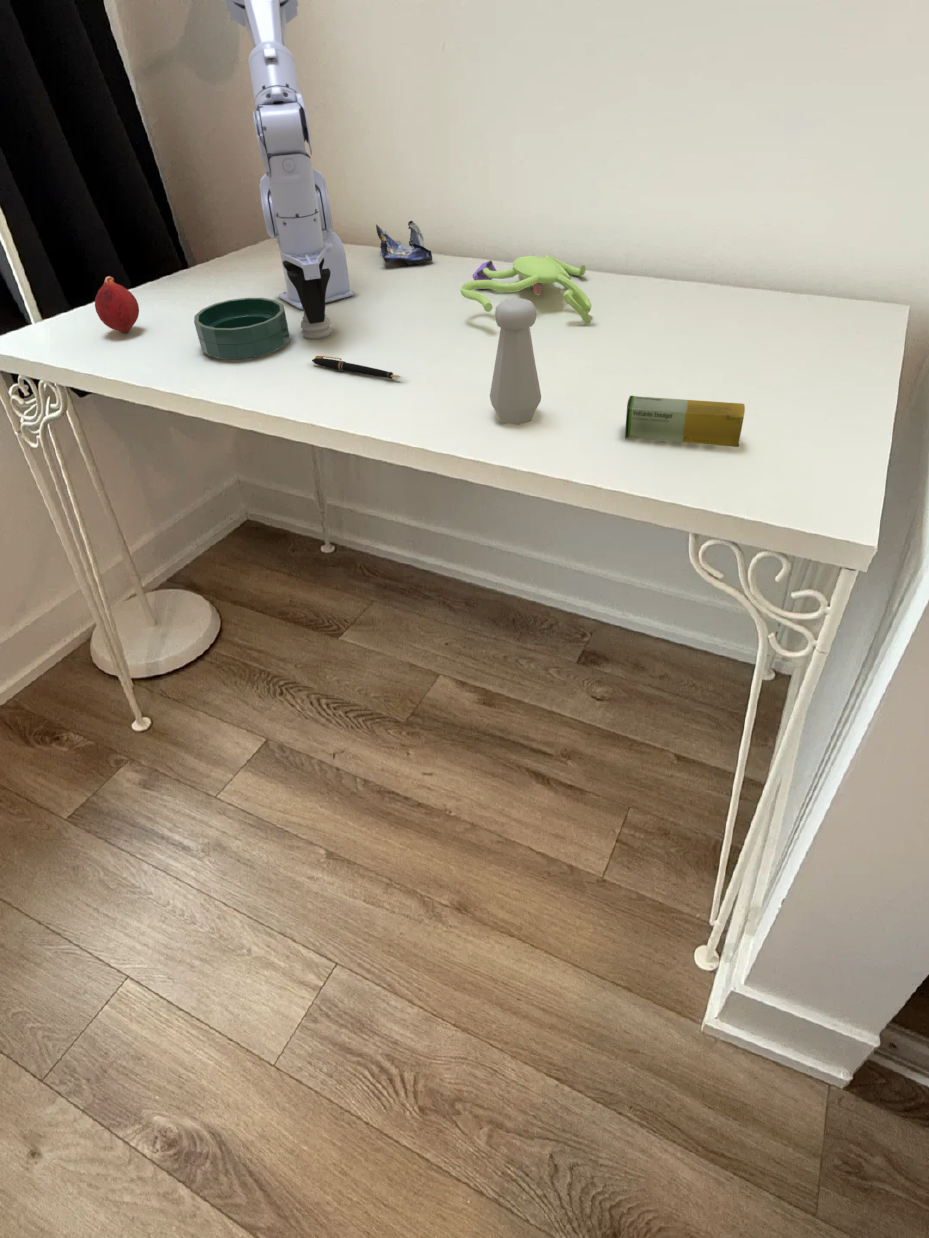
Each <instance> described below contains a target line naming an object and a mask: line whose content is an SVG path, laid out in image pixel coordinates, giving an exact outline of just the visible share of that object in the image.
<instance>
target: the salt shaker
mask: <svg viewBox="0 0 929 1238" xmlns="http://www.w3.org/2000/svg"><path fill="white" fill-rule="evenodd" d="M494 319H495V322H496V325H497V327H499V328H500V330H499V336H498V342H497V347H496V348H497V349H496V353H495V362H494V367H493V373H492V380H491V385H490V392H489V398H490V399H489V400H490V403H491V406H492V408H493V410H494V412H495V413H496V416H497V417H498V419H499V420H500V421H501V422H502V423H503V424H509V425H516V426H519V425H522V424H525V423H528V422H531V421H532V420H533V418H534V415H535V413H536V411H537V409H538V407H539V405H540V404H541V401H542V393H541V388H540V383H539V376H538V370H537V366H536V365H537V364H536V360H535V353H534V347H533V340H532V334H531V333H532V332H531V327H533V326H534V325H535V324H536V319H537V310H536V305H535V303H533V301H531V300H529V299H527V298H520V297H515V298H514V297H513V298H512V297H511V298H507V299H504V300H501V301H500V302H499V303H498V304H497V306H496V307H495V310H494Z"/></svg>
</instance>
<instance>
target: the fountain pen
mask: <svg viewBox="0 0 929 1238" xmlns="http://www.w3.org/2000/svg"><path fill="white" fill-rule="evenodd" d="M311 362H312V363H313V364H314V365H317V366H320V367H322V368H326V369H329V370H335V371H340V372H348V373H354V374H358V375H365V376H371V377H377V378H383V379H391V380H392V379H393V378H396V379H397V378H402V376H401V375H398V374H394V373H393V372H392V371H387V370H383V369H379V368H374V367H369V366H366V365H361V364H356V363H351V362H346V361H343V360H342V358H341V357H334V356H326V355H315V358H313V359H311Z"/></svg>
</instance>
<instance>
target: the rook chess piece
mask: <svg viewBox="0 0 929 1238" xmlns="http://www.w3.org/2000/svg"><path fill="white" fill-rule="evenodd" d="M301 317H302V321H301V322H300V328H301V329H302V330H301V332H300V333H301V335H302V336H303V337H304V338H305V339H308V340H320V339H321V340H322V339H324V338H328V337H329V336H330V335H331V334H332V331H333V328H332V326H331V324H332V323H331V320H330V318H329V317H328V316H327V314H326V313H325V318H324V322H319V323H313V324H310V323H309V321H308V319H307V316H306V314H305V311H304V310H303V315H302V316H301Z"/></svg>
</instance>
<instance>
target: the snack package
mask: <svg viewBox="0 0 929 1238" xmlns="http://www.w3.org/2000/svg"><path fill="white" fill-rule="evenodd" d="M407 226H408V230H410V235H409V236H410V237H409V241H408V245H407V244H406V243H404V242H402V241H400V240H395V239H394V238H393V237H392V236H390V235H389V234H388V233H387V231H386V230H383V229H382V228H381V227H380V226H379V225H378V224H375V229H376V234H377V236H378V238H379V240H380V241H381V242H380V248H379V249H380V252H381V256H382V258H383V261H384V263H390V262H392V261H393V262H394V261H401V260H402V261H404V262H406V263H407V266H413V265H418V264H423V263H426V262H432V261H433V254H432V251H431V250H429V249H427V248H426V247H425V244H424V241H425V239H424V235H423V233H422V232H421V230H420V227H419V226H418V225H417V224H416V223H415V222H414V221H413V220H410V221H408V223H407ZM388 267H389V266H388V265H387V266H386V268H388Z"/></svg>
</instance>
